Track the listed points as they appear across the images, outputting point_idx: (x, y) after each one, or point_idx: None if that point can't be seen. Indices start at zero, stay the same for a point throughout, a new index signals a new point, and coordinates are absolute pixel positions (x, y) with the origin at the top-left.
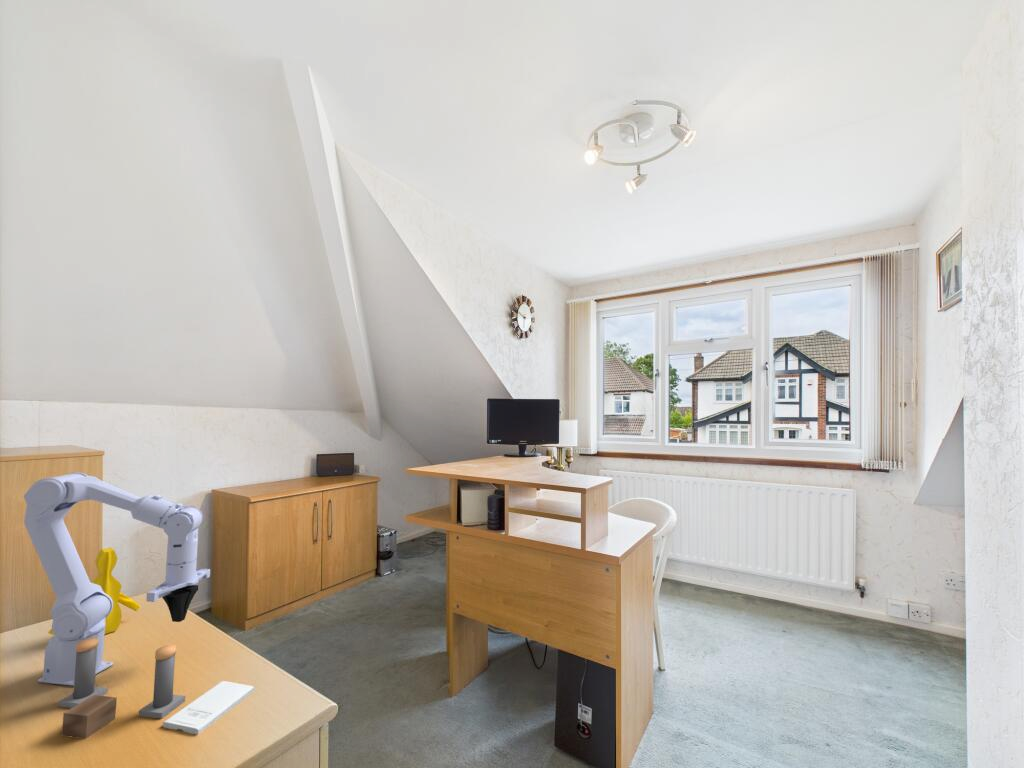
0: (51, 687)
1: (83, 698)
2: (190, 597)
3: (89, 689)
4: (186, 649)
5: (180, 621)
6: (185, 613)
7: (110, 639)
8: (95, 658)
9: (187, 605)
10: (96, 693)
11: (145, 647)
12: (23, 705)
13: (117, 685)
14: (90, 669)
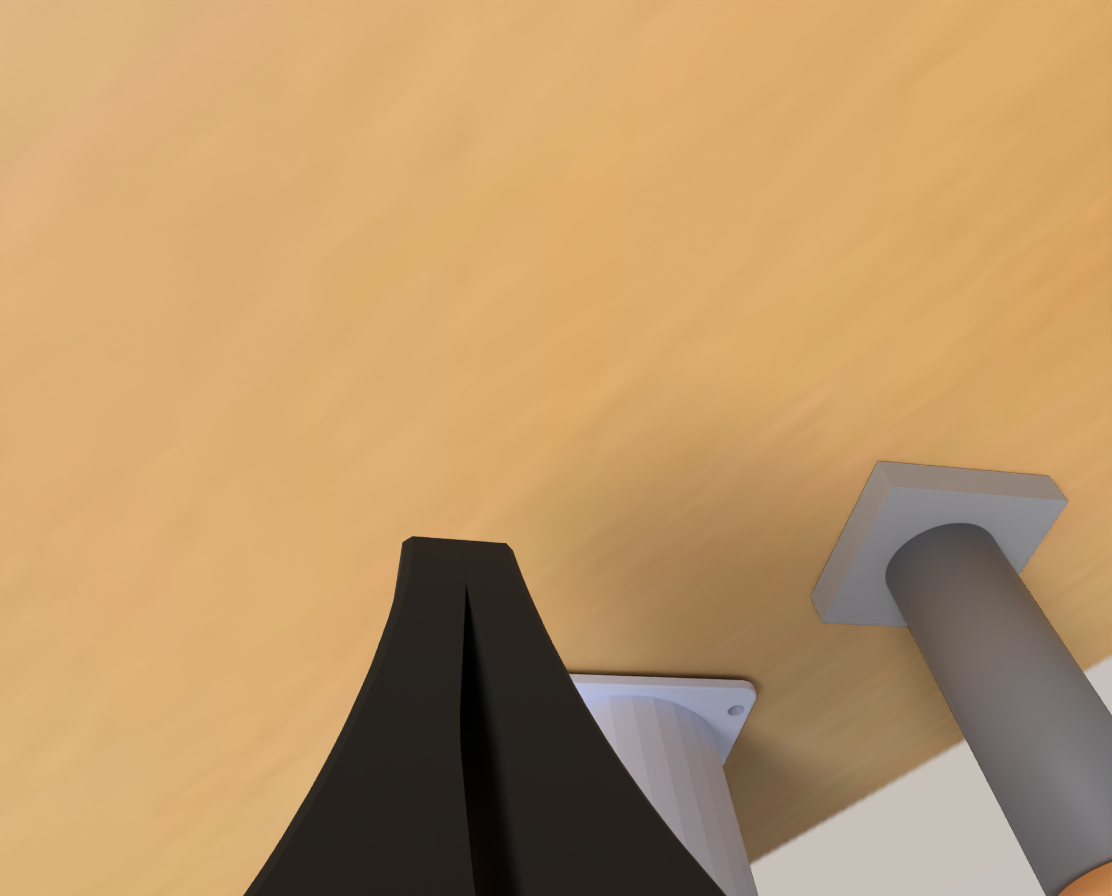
0: (733, 763)
1: (999, 528)
2: (393, 880)
3: (988, 555)
4: (191, 324)
5: (493, 543)
6: (428, 606)
7: (178, 884)
8: (1072, 747)
9: (419, 725)
10: (959, 498)
11: (232, 656)
12: (892, 746)
13: (788, 463)
14: (1078, 680)
